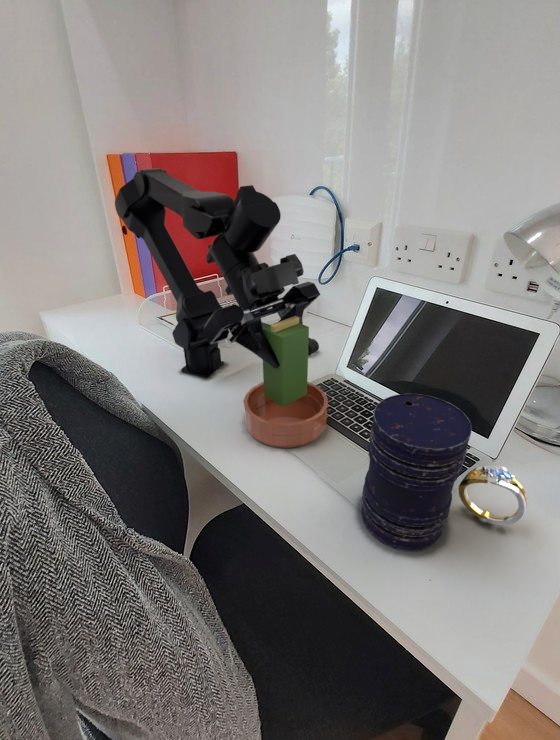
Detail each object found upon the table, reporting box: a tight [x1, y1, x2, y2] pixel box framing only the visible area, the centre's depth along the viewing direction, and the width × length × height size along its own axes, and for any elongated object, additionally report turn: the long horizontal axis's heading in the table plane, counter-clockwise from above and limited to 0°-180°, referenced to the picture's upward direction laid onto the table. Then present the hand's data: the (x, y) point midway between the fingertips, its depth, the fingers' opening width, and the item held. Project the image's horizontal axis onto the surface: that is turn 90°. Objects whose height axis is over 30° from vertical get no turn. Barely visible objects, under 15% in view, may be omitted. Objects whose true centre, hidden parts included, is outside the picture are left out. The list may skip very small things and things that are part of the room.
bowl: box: [243, 381, 329, 449], centre depth 66 cm, size 13×13×4 cm
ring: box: [457, 464, 528, 526], centre depth 48 cm, size 7×3×8 cm, turn 47°
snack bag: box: [262, 316, 310, 407], centre depth 61 cm, size 4×5×12 cm
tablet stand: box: [261, 321, 320, 357], centre depth 92 cm, size 18×3×3 cm, turn 49°
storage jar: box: [360, 393, 473, 552], centre depth 46 cm, size 10×10×15 cm
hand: (291, 361), depth 60 cm, fingers closed on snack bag, 5 cm apart
